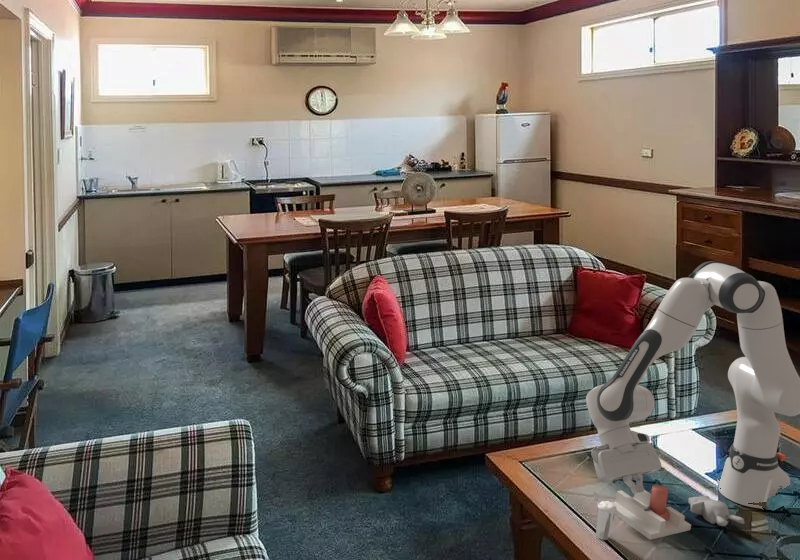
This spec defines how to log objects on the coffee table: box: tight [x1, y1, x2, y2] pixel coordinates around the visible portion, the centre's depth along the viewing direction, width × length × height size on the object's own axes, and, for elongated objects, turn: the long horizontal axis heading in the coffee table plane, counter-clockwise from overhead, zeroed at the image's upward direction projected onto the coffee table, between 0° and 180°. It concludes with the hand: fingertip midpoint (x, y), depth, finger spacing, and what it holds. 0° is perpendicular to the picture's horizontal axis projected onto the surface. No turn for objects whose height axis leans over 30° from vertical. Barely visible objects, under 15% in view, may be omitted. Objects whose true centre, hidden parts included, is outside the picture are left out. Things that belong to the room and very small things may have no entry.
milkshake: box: [595, 496, 617, 541], centre depth 185 cm, size 5×5×10 cm
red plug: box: [647, 484, 669, 521], centre depth 193 cm, size 4×4×8 cm
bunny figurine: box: [687, 495, 745, 527], centre depth 198 cm, size 10×5×15 cm
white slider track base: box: [610, 489, 692, 540], centre depth 196 cm, size 14×16×5 cm
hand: (638, 492), depth 198 cm, fingers closed
